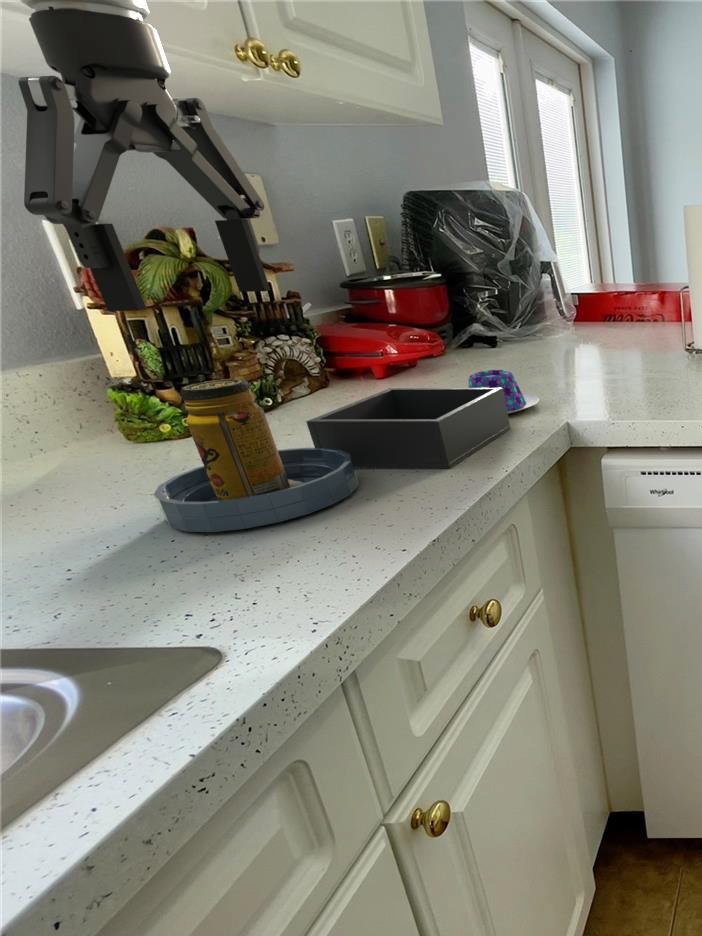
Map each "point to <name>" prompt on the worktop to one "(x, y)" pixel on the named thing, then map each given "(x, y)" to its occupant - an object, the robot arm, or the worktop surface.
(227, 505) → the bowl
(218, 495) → the condiment
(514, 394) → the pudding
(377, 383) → the worktop surface
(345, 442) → the bin
